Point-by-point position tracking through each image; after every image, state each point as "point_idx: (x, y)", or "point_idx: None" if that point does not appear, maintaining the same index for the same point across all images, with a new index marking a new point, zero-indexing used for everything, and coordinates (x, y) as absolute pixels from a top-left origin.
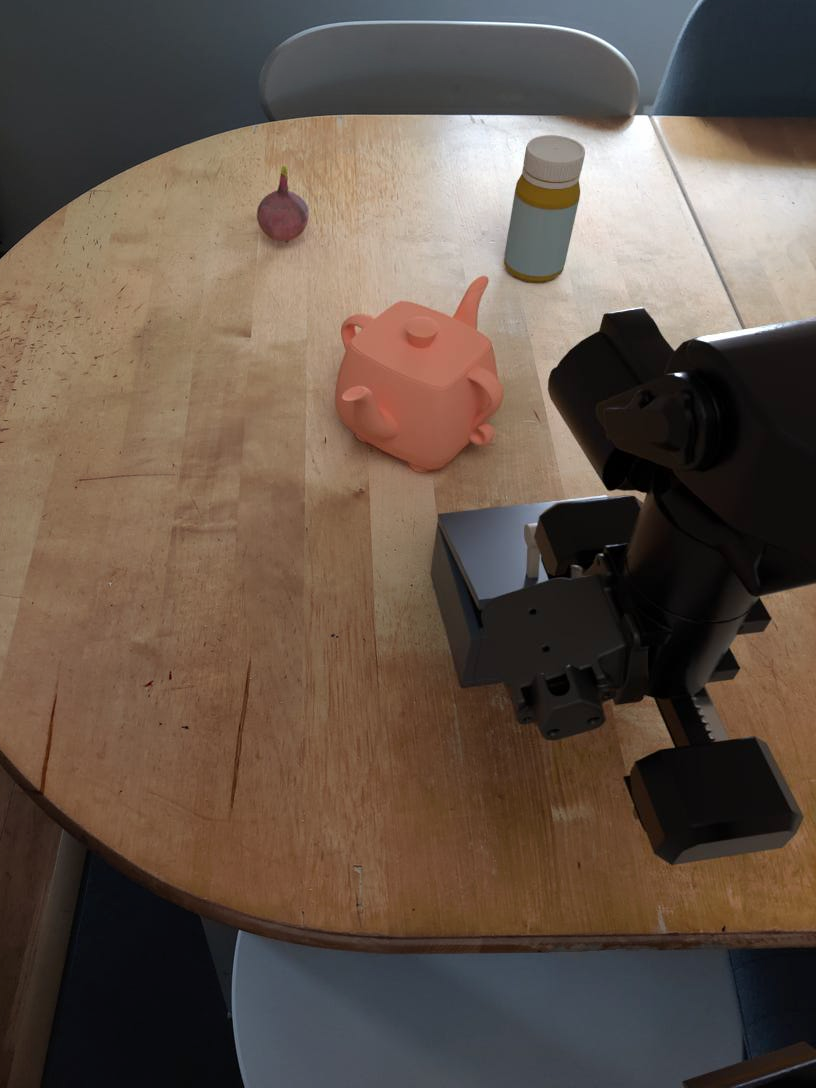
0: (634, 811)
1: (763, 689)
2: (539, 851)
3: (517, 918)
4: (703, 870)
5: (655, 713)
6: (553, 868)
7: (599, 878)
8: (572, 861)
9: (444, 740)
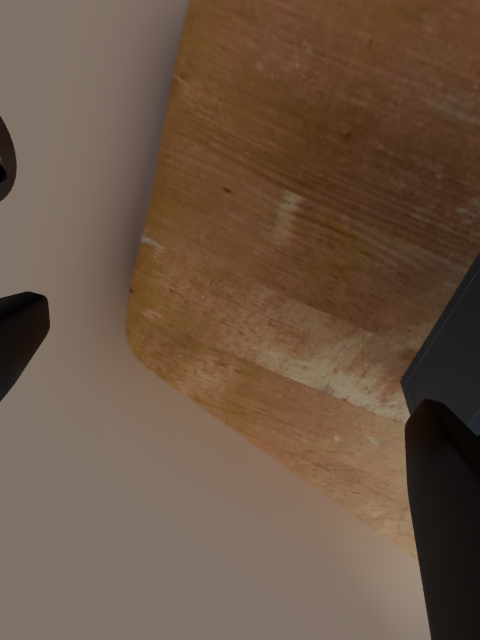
0: (17, 302)
1: (309, 450)
2: (259, 150)
3: (193, 69)
4: (181, 307)
5: (340, 365)
6: (233, 156)
7: (205, 205)
8: (233, 185)
9: (476, 89)
